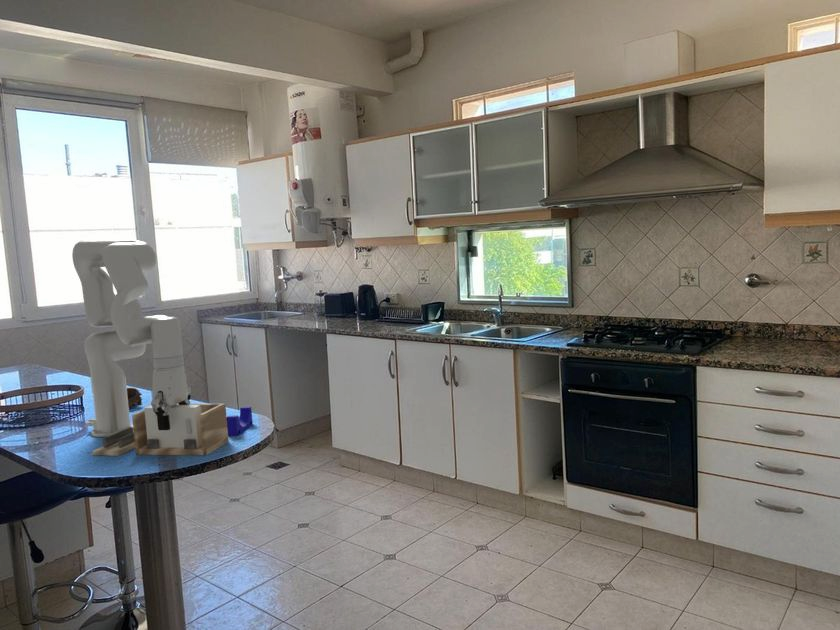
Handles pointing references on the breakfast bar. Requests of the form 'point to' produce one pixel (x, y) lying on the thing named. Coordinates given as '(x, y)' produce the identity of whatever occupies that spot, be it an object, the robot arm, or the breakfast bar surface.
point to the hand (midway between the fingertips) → (174, 424)
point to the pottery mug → (133, 396)
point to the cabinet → (211, 434)
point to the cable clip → (239, 421)
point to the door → (175, 426)
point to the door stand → (117, 443)
